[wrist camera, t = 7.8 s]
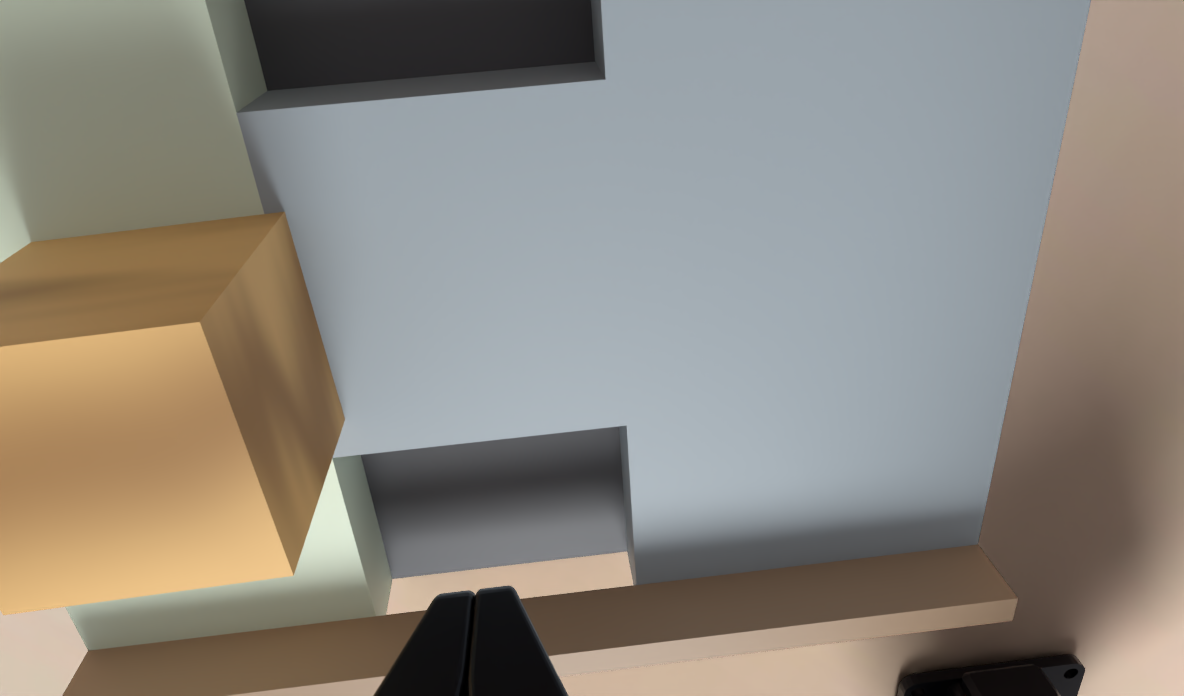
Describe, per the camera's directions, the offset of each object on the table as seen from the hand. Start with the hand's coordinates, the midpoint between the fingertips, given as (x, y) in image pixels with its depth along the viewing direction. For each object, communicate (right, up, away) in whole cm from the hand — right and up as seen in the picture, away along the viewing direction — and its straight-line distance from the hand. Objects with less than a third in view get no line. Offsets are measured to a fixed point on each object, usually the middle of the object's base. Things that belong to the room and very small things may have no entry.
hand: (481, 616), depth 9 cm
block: (-7, +3, +8) cm, 11 cm away
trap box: (-1, +6, +11) cm, 12 cm away
